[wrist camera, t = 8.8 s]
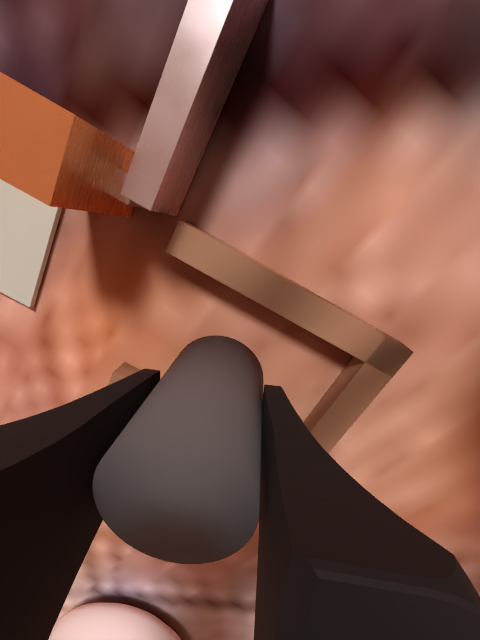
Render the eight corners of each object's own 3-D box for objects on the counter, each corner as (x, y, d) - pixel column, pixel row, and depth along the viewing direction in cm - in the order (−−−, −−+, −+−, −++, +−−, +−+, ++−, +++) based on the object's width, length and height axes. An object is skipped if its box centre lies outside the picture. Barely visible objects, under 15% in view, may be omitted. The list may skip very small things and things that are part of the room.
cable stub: (280, 364, 12) (292, 489, 6) (235, 430, 13) (210, 585, 7) (198, 318, 11) (128, 402, 6) (160, 390, 13) (71, 518, 7)
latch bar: (275, -16, 10) (282, -245, 5) (167, 237, 13) (110, 239, 8) (168, -85, 10) (72, -392, 5) (83, 191, 13) (-26, 165, 8)
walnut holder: (401, 342, 14) (413, 352, 12) (293, 473, 17) (295, 491, 15) (186, 221, 13) (178, 220, 12) (115, 382, 16) (104, 393, 15)
